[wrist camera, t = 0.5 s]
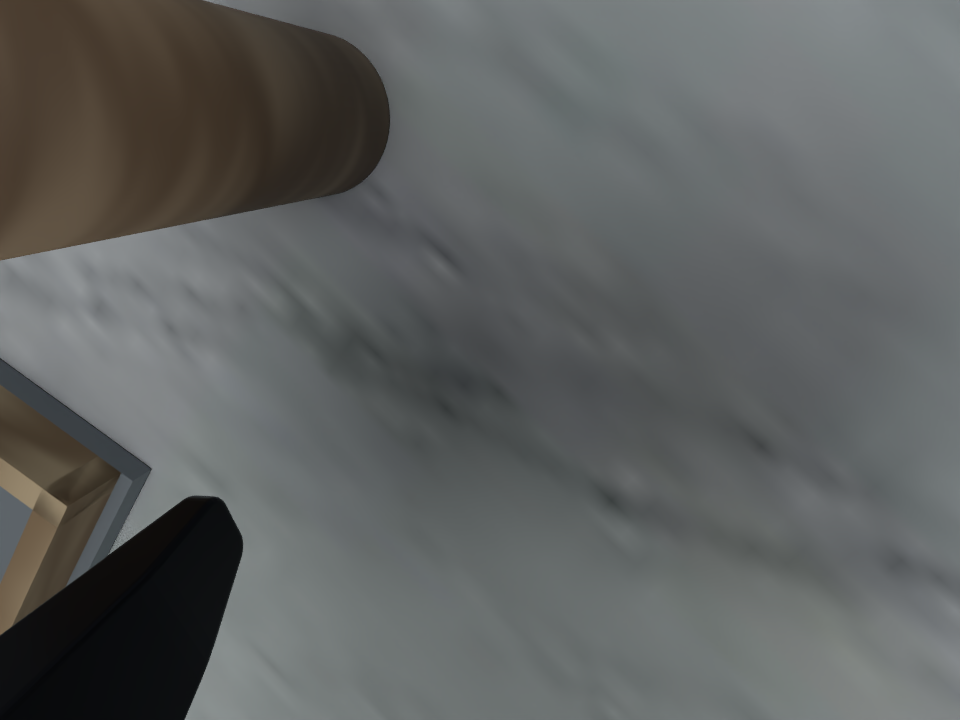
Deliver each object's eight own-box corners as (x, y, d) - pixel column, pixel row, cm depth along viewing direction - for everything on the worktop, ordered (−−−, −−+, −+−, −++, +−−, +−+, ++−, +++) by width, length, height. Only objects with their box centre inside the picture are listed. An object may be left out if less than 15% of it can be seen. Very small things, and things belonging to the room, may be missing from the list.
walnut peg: (378, 210, 22) (22, 309, 10) (241, 178, 23) (-243, 235, 11) (400, 47, 21) (12, -66, 8) (252, 19, 21) (-295, -121, 9)
